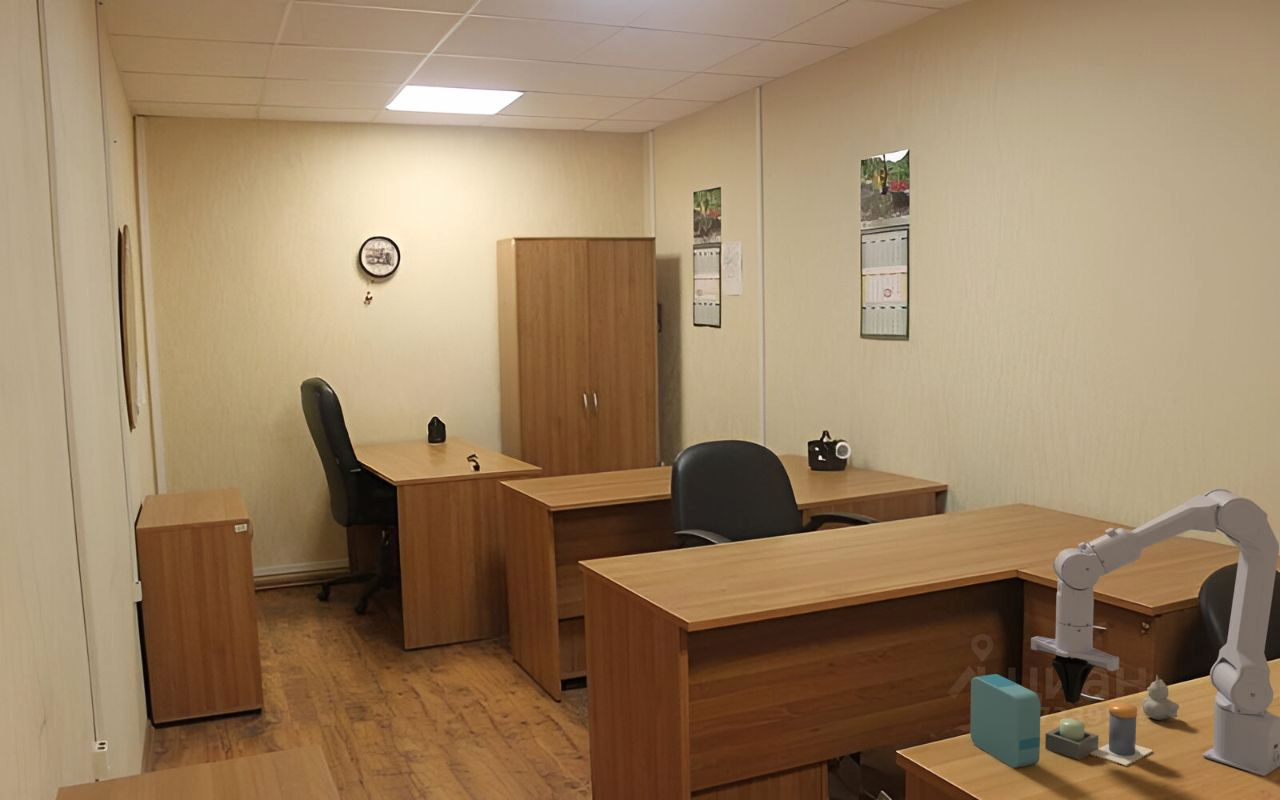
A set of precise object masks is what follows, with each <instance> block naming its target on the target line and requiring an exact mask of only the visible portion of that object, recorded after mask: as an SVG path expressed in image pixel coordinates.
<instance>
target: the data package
mask: <svg viewBox="0 0 1280 800" xmlns="http://www.w3.org/2000/svg"><path fill="white" fill-rule="evenodd" d="M970 683H971V684H970V739H971V741H972V743H973V745H975V746H976V747H977V748H978V749H980V750H982V751H984V752H986V753H987V754H988V755H990V756H992V757H994V758H995V759H996V760H999V761H1000V762H1002V763H1004V764H1005V765H1007V766H1008V767H1011V768H1012V769H1013V768H1014V769H1017V768H1020V767H1026V766H1027V767H1028V766H1033V765H1036V764H1038V763H1039V760H1040V758H1041V757H1040V756H1041V753H1040V751H1041V750H1040V749H1041V748H1040V747H1041V737H1040V736H1041V699H1040V697H1039V695H1038V694H1037V693H1036V692H1034V691H1032V690H1030V689H1029V688H1026V687H1024V686H1022V685H1020V684H1019V683H1016V682H1014V681H1012V680H1010V679H1008V678H1006V677H1003V676H1002V675H999V674H997V673H994V674H987V675H980V676H976V677H973V678H972V680H971V682H970Z"/></svg>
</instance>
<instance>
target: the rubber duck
mask: <svg viewBox="0 0 1280 800" xmlns="http://www.w3.org/2000/svg"><path fill="white" fill-rule="evenodd" d="M1146 690H1147V695H1148V696H1146V697H1145V698H1143V699H1142V703H1141V707H1142V711H1143V713H1144V714H1145V715H1146V716H1147V717H1149V718H1151V719H1154V720H1157V721H1158V720H1159V721H1161V720H1166V719H1168V718H1174V719H1175V718H1178V710H1179V709H1180V705H1179V704H1178V703H1176V702H1174V701H1173V700H1171V699H1169V698H1168V697H1169V688H1168V686H1167V685H1166V683H1165V682H1164V681H1163V679H1160V678H1159V676H1158V675H1156V678H1155V681H1152V682H1151V683H1150V685H1149V686H1148V687H1147V688H1146Z"/></svg>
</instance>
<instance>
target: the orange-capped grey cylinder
mask: <svg viewBox="0 0 1280 800" xmlns="http://www.w3.org/2000/svg"><path fill="white" fill-rule="evenodd" d="M1108 714H1109V718H1108V719H1109V722H1108V723H1109V725H1108V728H1109V729H1108V730H1109V731H1108V744H1109V750H1110V751H1111V752H1112V753H1114V754H1117V755H1122V756H1132V755H1134V754H1135V745H1137V743H1136V739H1137V736H1136V735H1137V716H1138V708H1137V706H1135V705H1133V704H1131V703H1127V702H1122V701H1121V702H1119V701H1118V702H1117V701H1115V702H1111V703H1109V704H1108Z"/></svg>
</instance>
